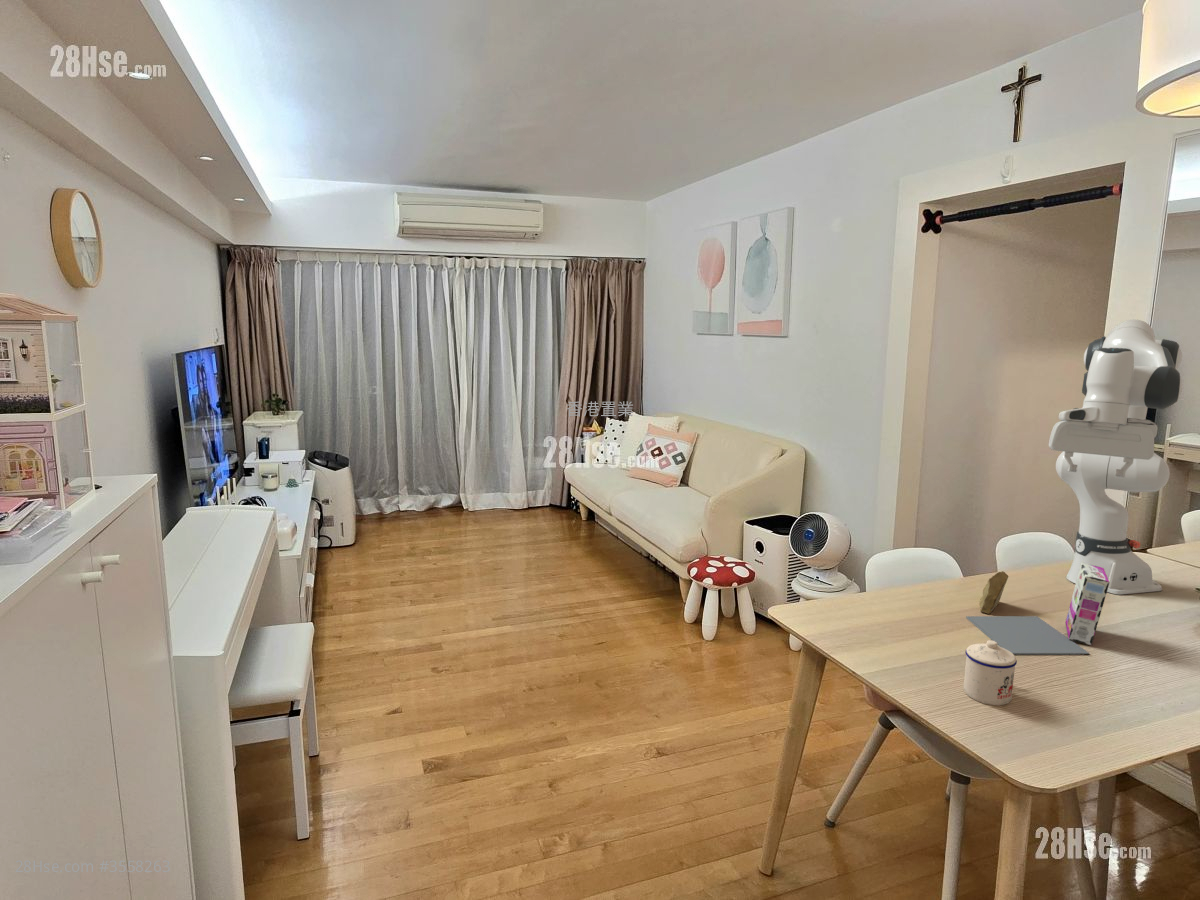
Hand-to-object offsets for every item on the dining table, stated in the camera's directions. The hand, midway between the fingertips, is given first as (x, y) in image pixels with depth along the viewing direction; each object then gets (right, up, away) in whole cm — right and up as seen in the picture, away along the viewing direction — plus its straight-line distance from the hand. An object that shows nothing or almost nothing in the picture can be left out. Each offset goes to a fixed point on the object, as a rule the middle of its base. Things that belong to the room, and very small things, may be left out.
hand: (1095, 474), depth 163 cm
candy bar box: (-1, -39, +4) cm, 39 cm away
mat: (-14, -39, +5) cm, 42 cm away
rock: (-14, -37, +21) cm, 44 cm away
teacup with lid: (-37, -45, -20) cm, 61 cm away
